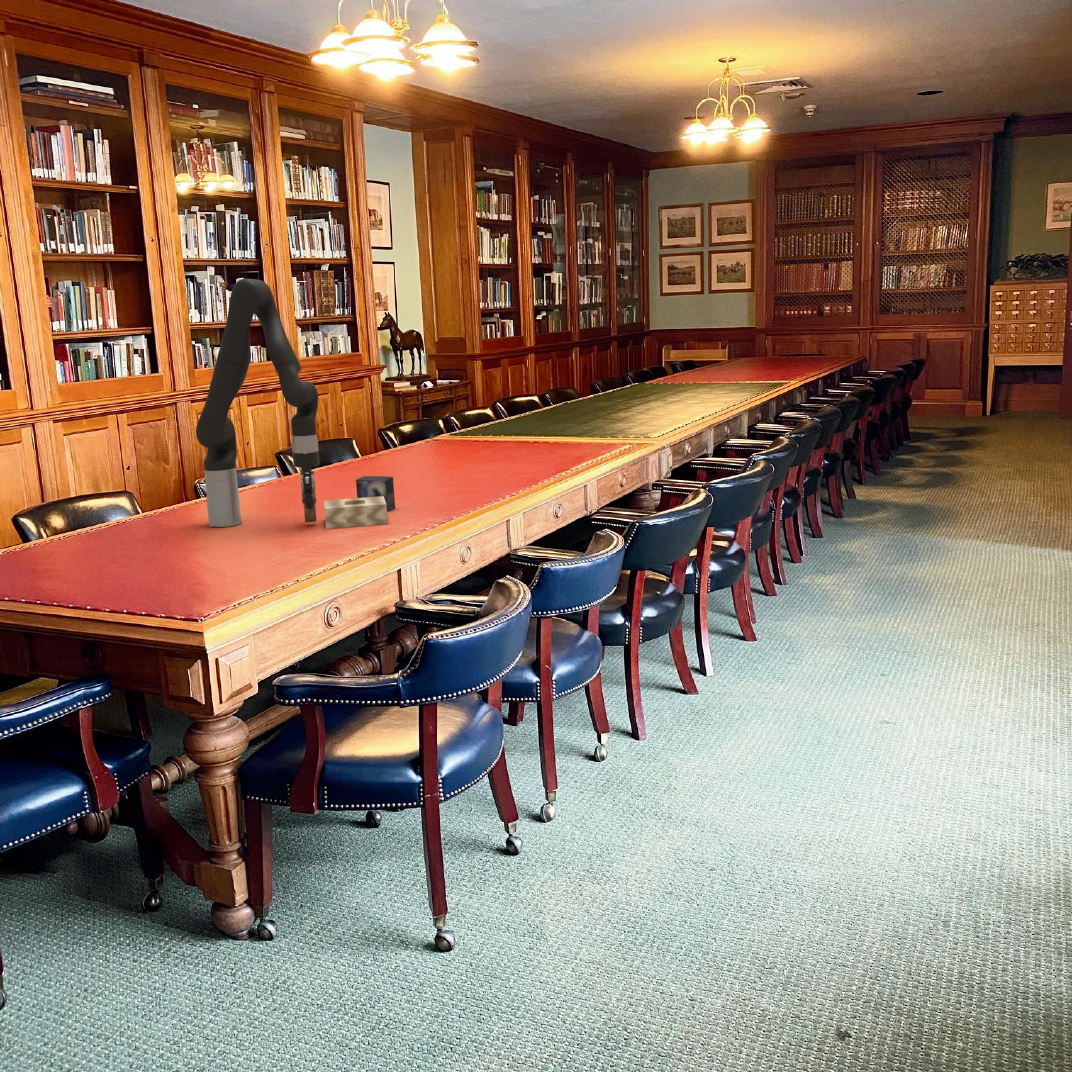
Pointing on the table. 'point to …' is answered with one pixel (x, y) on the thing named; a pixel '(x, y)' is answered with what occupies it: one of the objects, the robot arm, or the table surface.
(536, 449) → the table surface
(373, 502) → the seat board
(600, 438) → the table surface
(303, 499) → the peg
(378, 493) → the small box
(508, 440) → the table surface
